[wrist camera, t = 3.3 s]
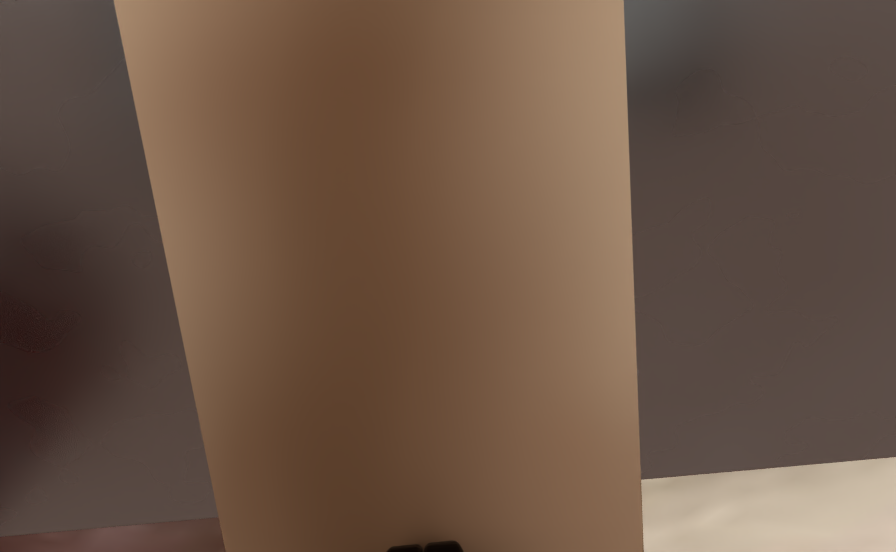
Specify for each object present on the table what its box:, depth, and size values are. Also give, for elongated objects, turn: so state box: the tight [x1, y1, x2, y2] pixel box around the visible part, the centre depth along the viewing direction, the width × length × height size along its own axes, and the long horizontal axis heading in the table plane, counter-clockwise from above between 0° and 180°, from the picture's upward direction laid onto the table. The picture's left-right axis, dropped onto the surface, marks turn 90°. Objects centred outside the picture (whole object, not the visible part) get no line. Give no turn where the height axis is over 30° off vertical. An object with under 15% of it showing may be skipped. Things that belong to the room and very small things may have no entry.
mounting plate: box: [0, 0, 896, 537], centre depth 11 cm, size 20×18×4 cm
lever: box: [114, 0, 644, 552], centre depth 9 cm, size 5×16×2 cm, turn 5°
